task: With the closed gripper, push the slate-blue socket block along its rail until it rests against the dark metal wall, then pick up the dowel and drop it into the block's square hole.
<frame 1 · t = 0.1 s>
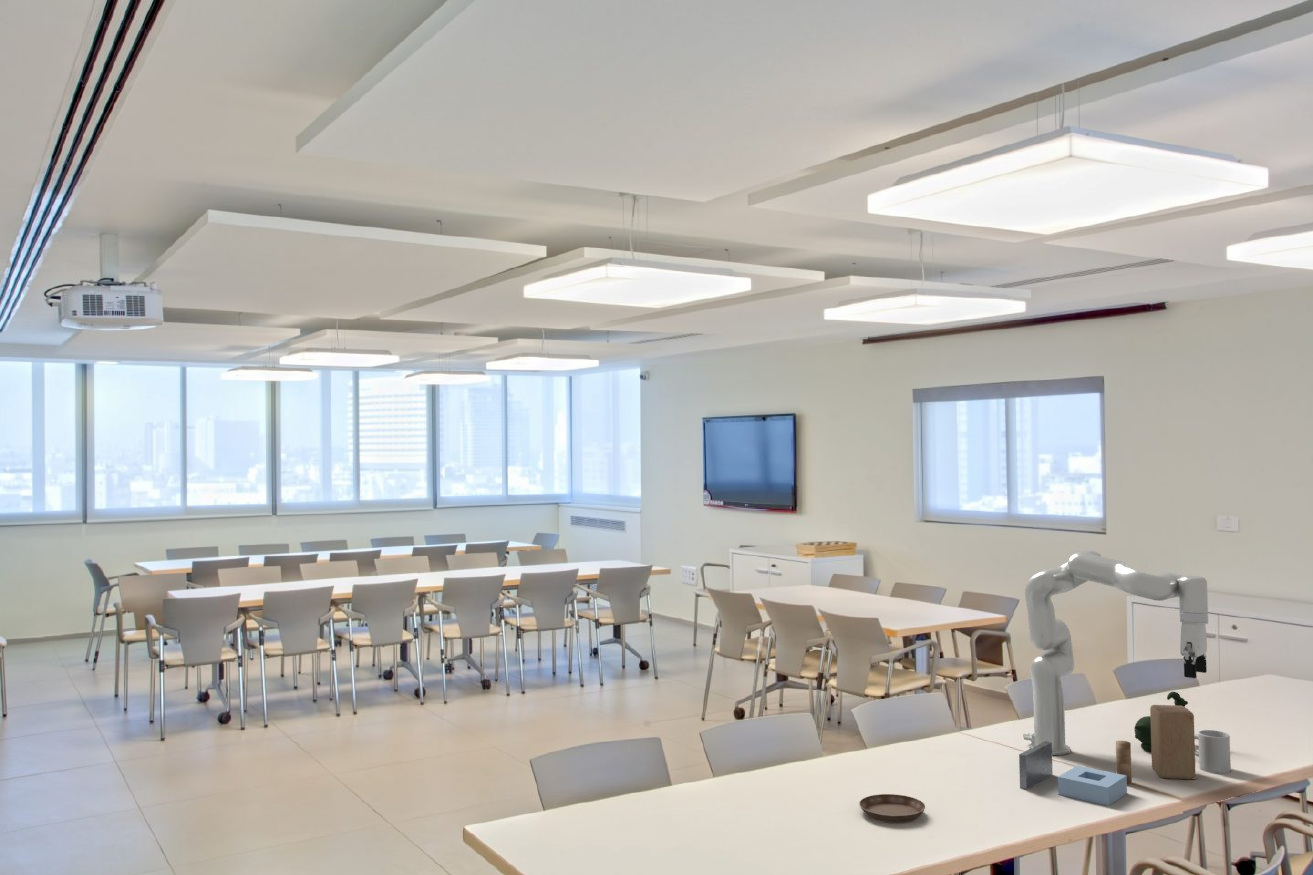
hand: (1195, 674, 297), 31 cm above the table, fingers open, 9 cm apart
socket block: (1092, 784, 285), point 3 cm above the table, slide at 0.0 cm
dowel: (1124, 783, 295), on the table
backstop wall: (1036, 781, 297), on the table
toy figurine: (1160, 748, 329), on the table
plant saucer: (892, 815, 272), on the table
mug: (1209, 768, 307), on the table
wooden block: (1173, 775, 302), on the table
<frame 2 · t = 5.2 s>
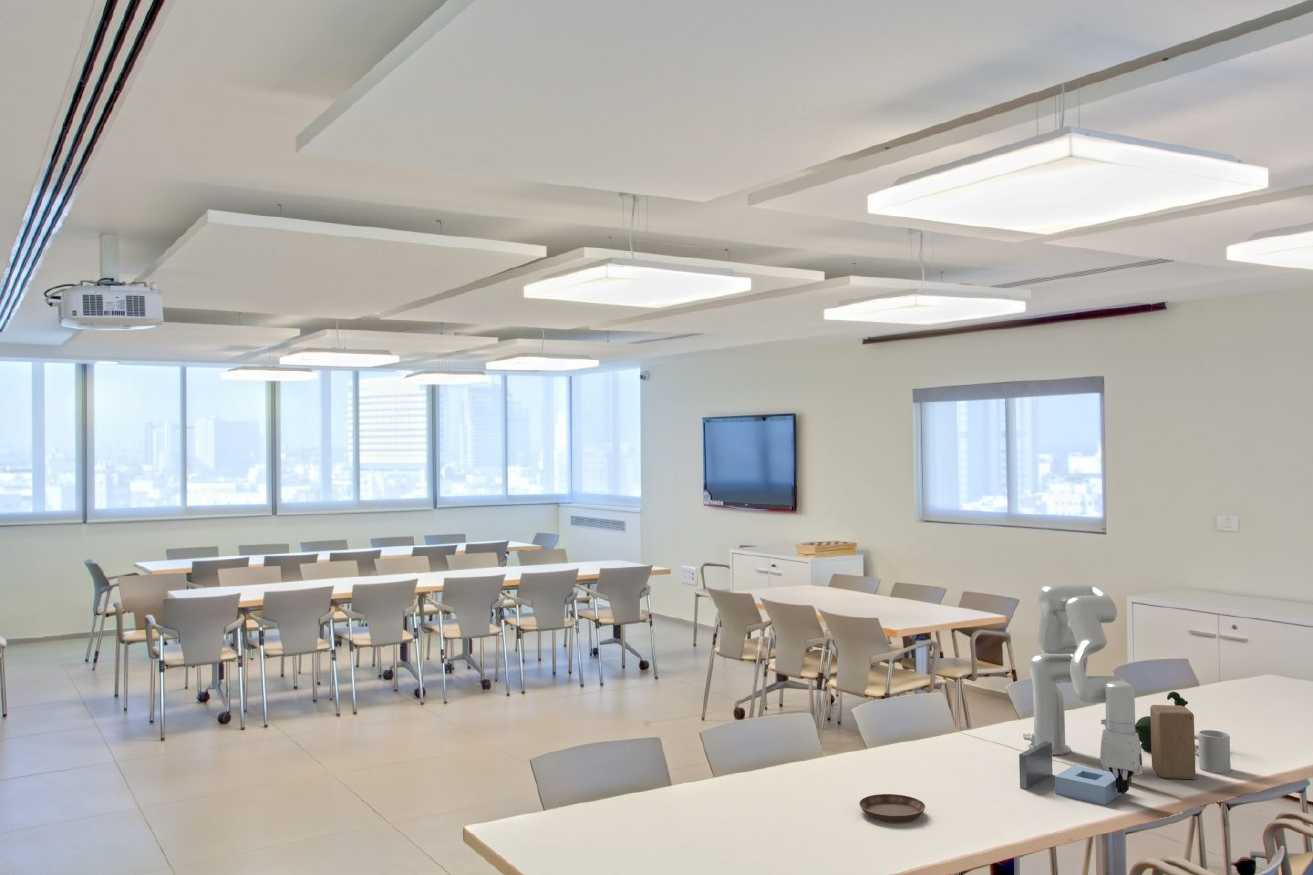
hand: (1122, 791, 280), 3 cm above the table, fingers closed
socket block: (1089, 784, 286), point 3 cm above the table, slide at 0.9 cm, touching gripper
everything else where it was.
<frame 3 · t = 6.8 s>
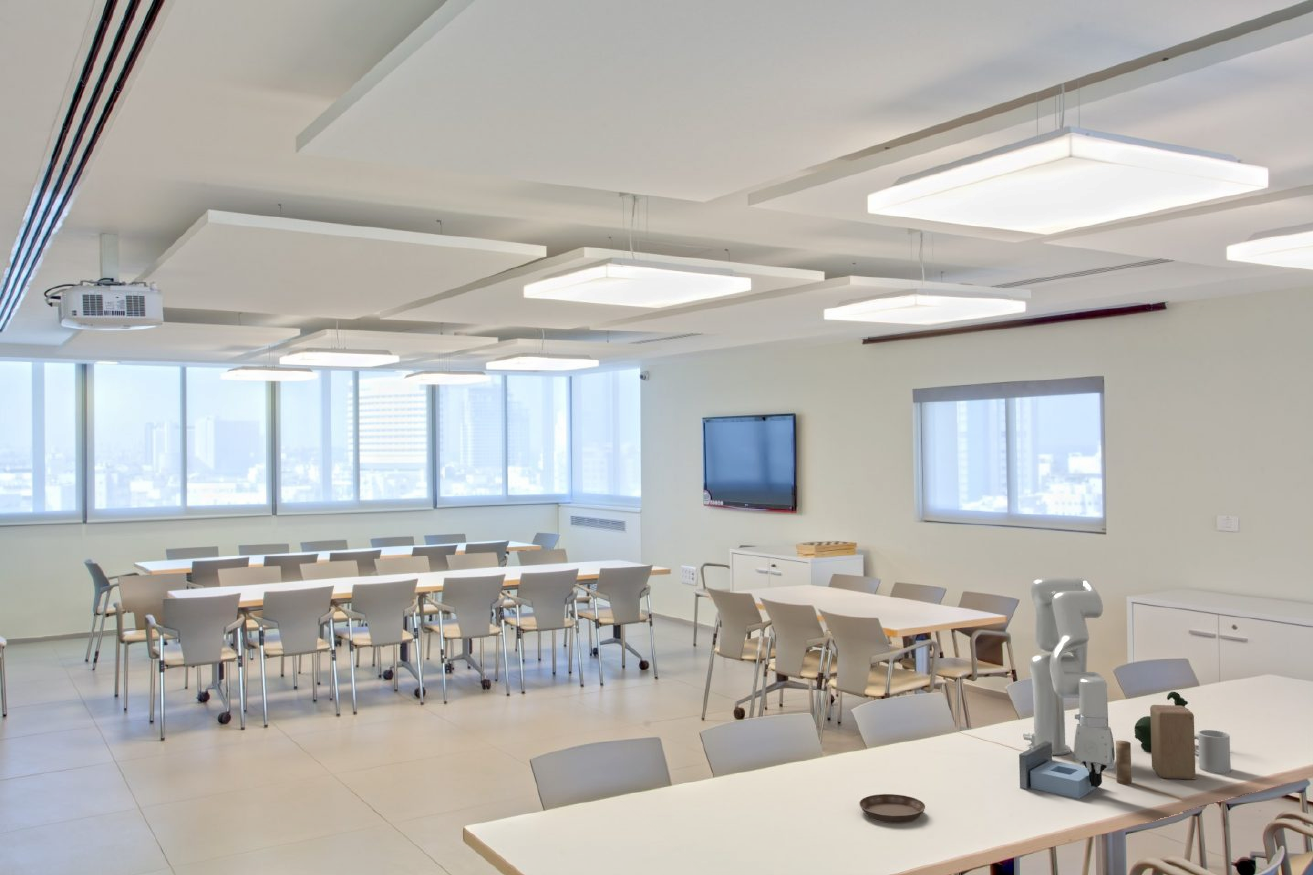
hand: (1095, 785, 285), 3 cm above the table, fingers closed
socket block: (1064, 778, 291), point 3 cm above the table, slide at 8.1 cm, touching gripper
everything else where it was.
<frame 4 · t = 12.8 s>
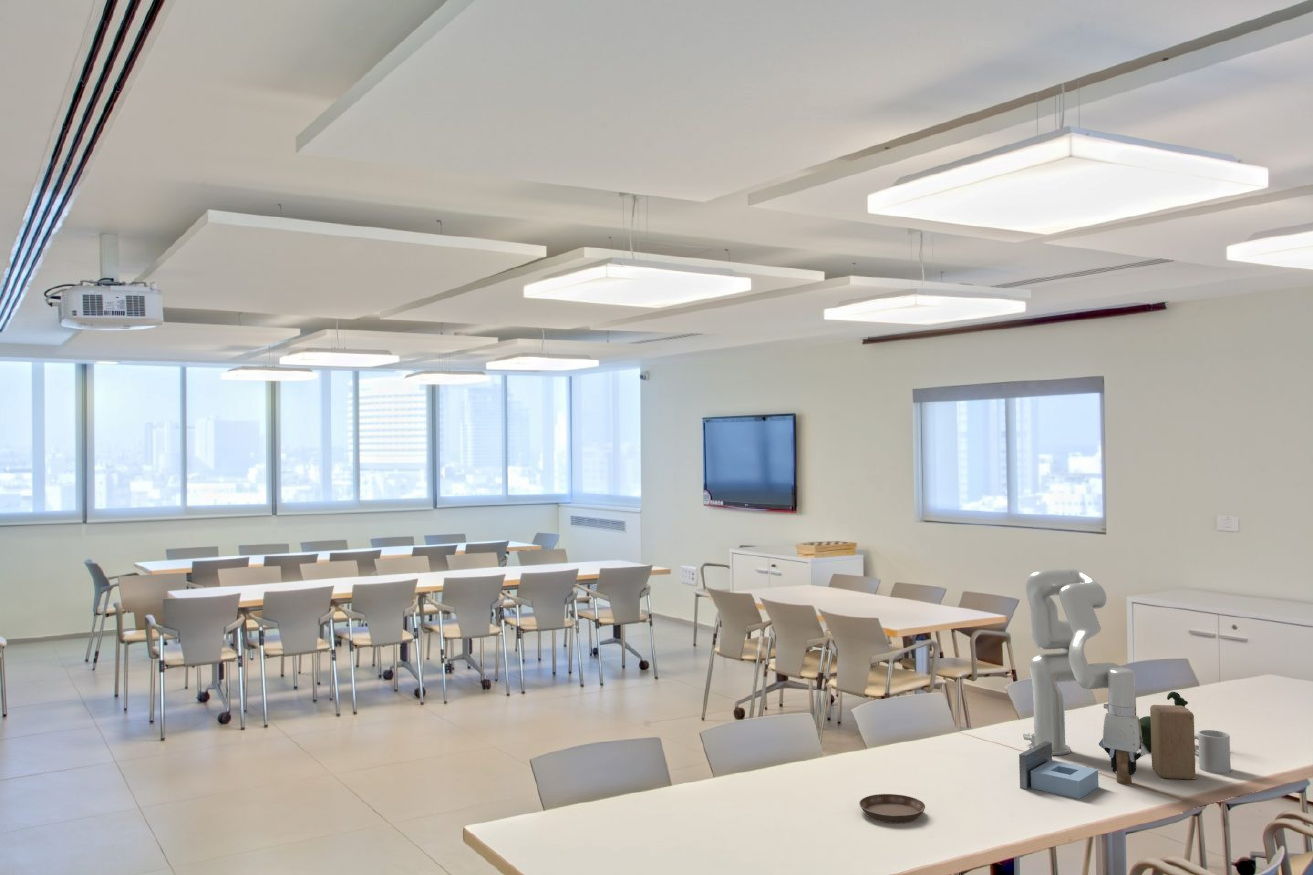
hand: (1123, 771, 295), 3 cm above the table, fingers closed on dowel, 4 cm apart
socket block: (1064, 778, 291), point 3 cm above the table, slide at 8.0 cm
dowel: (1124, 783, 295), on the table, touching gripper
everything else where it was.
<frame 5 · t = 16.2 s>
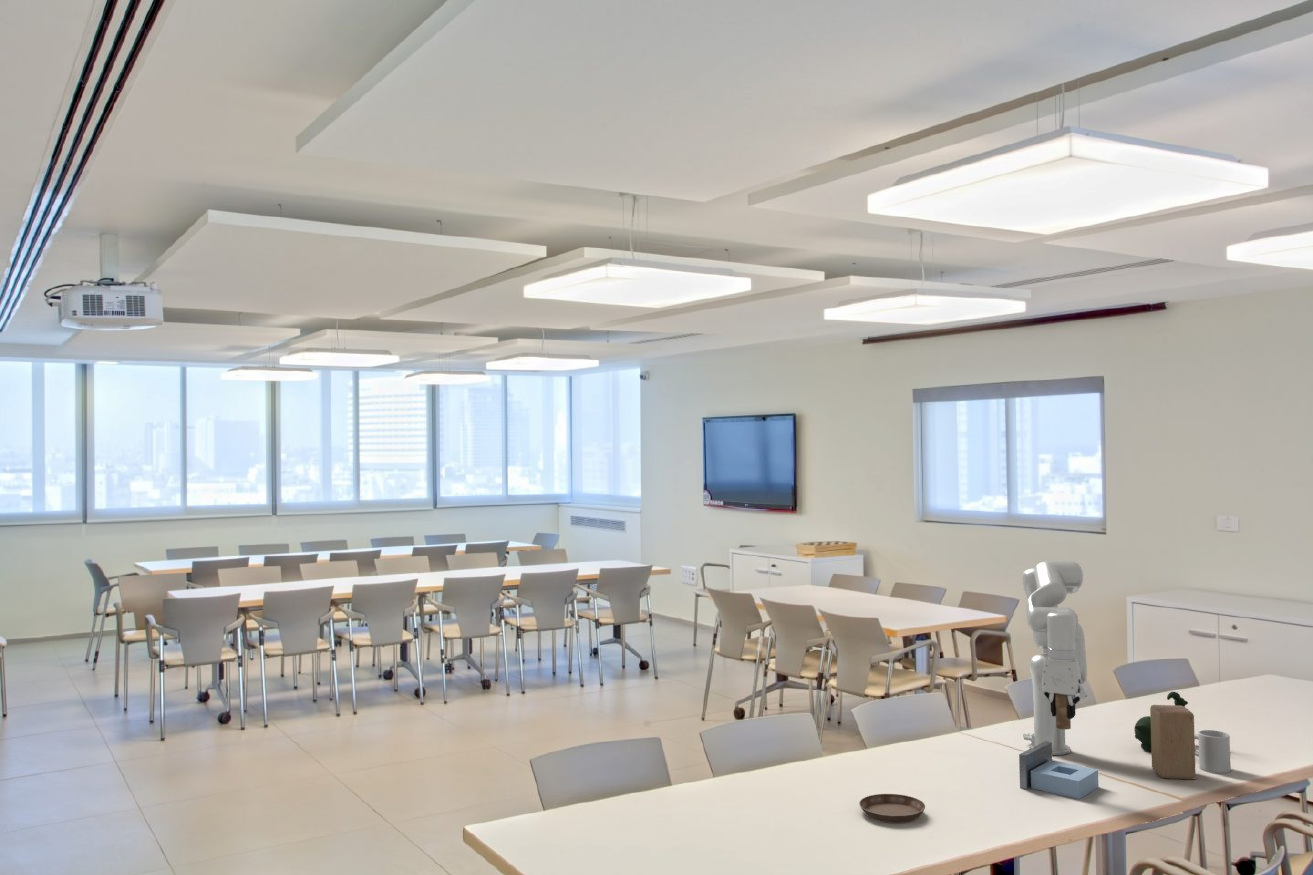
hand: (1063, 716, 291), 21 cm above the table, fingers closed on dowel, 4 cm apart
dowel: (1063, 727, 291), point 18 cm above the table, touching gripper
everything else where it was.
when the fingers open (6 cm above the table, at t = 20.0 s): dowel drops 1 cm, resting on socket block.
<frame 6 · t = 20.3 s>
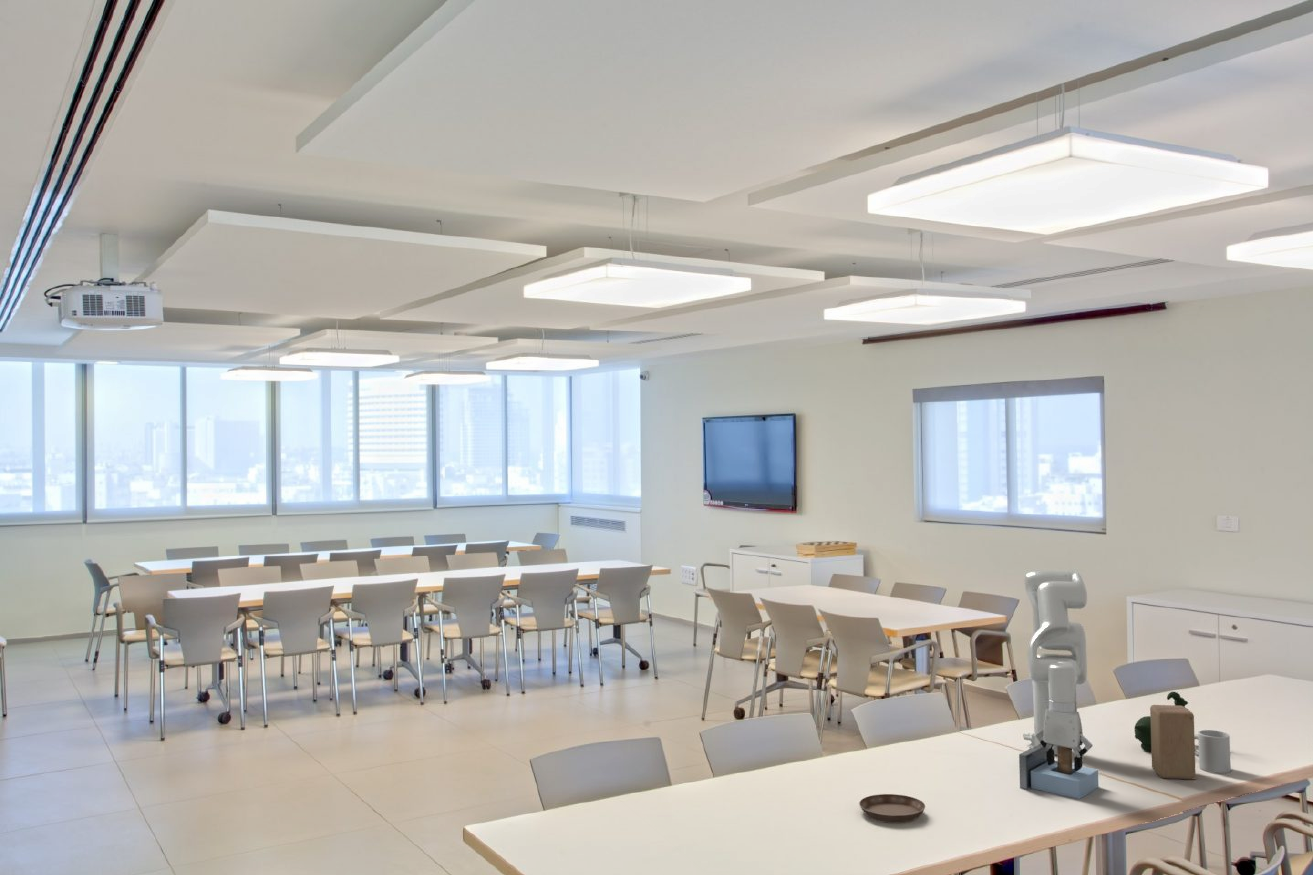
hand: (1064, 766, 291), 6 cm above the table, fingers open, 7 cm apart
socket block: (1064, 778, 291), point 3 cm above the table, slide at 8.0 cm, touching dowel
dowel: (1064, 783, 291), point 1 cm above the table, touching socket block
everything else where it was.
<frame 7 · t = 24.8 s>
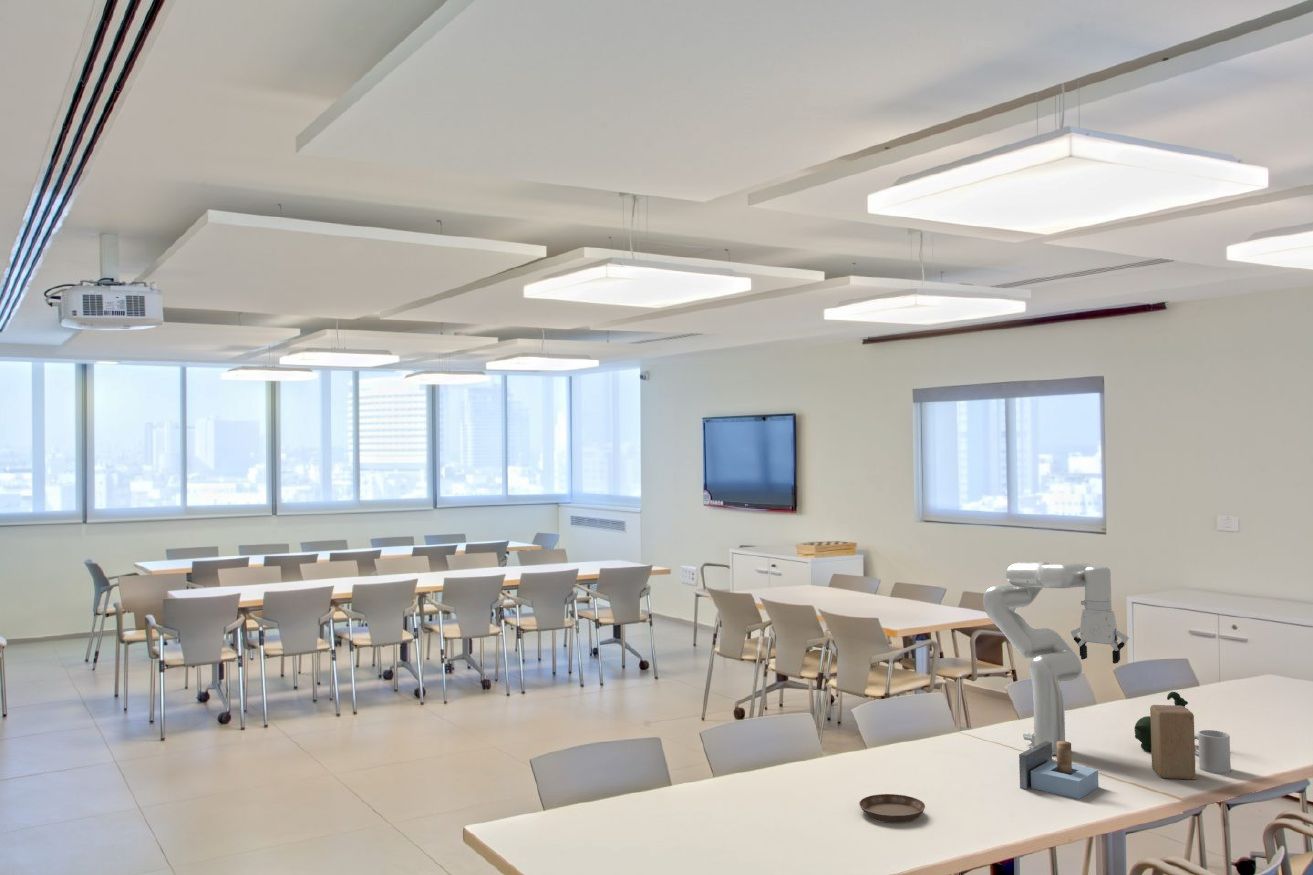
hand: (1099, 660, 309), 33 cm above the table, fingers open, 9 cm apart
nothing on the table moved.
at the end: socket block slide at 8.0 cm; dowel 0.0 cm off-centre on the socket block, point 1.0 cm above the socket block's base; dowel tilted 0° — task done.
